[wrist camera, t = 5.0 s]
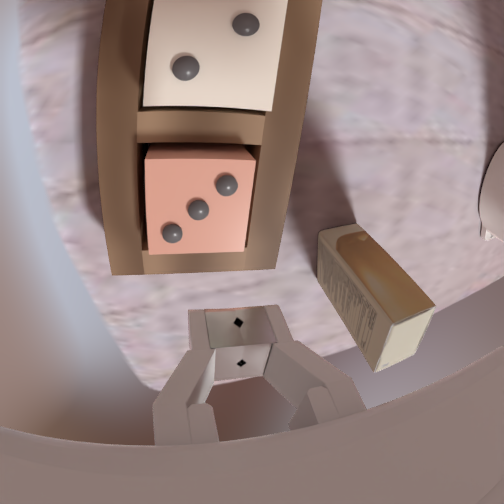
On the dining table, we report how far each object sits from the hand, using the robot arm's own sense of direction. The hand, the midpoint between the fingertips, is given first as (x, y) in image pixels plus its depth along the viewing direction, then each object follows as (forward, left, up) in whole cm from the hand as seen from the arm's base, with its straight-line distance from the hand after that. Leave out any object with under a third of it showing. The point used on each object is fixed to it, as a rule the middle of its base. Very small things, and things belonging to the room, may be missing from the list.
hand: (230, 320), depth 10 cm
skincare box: (-14, +7, -14) cm, 21 cm away
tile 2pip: (0, -9, -12) cm, 15 cm away
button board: (0, -9, -14) cm, 17 cm away
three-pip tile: (0, 0, -14) cm, 14 cm away
